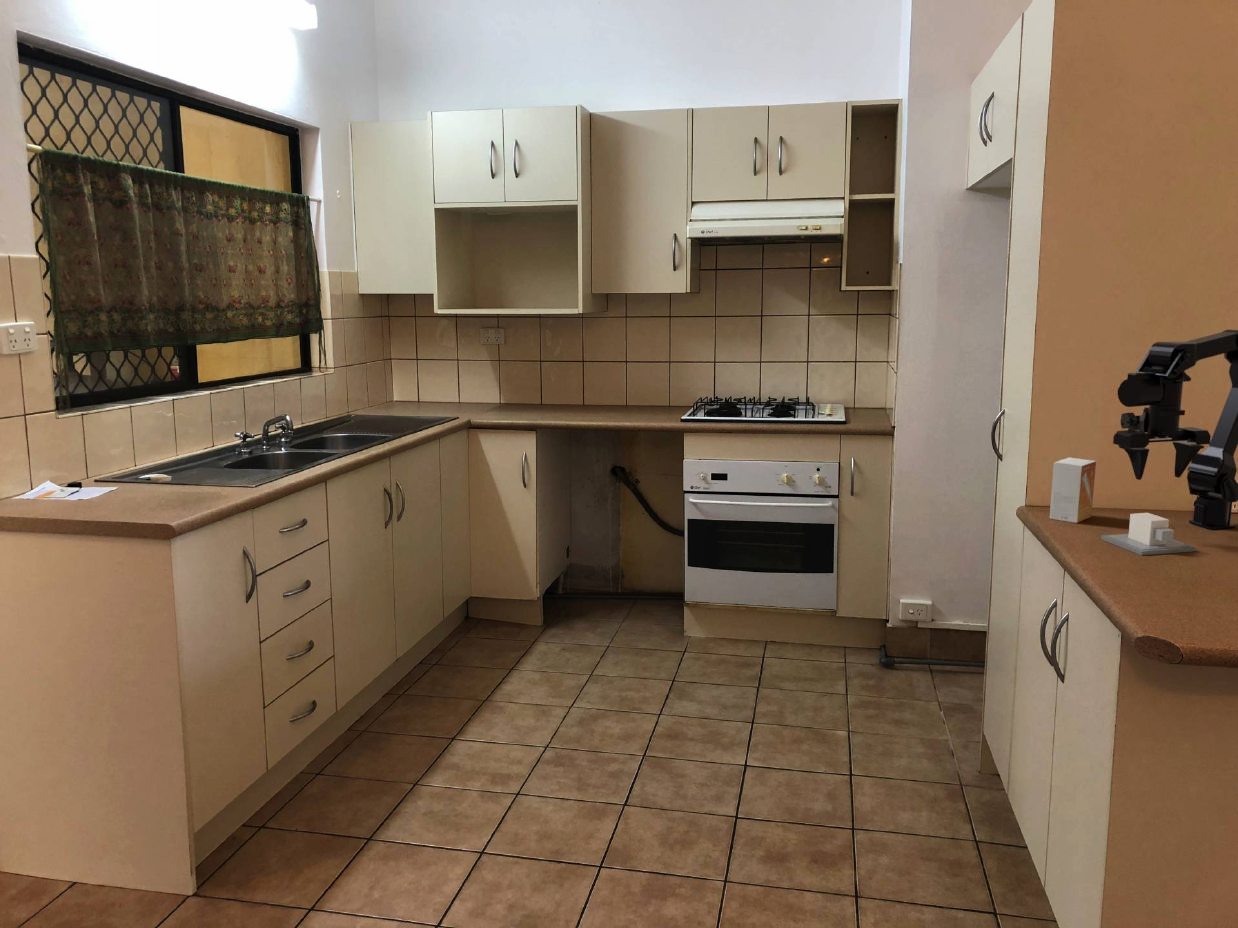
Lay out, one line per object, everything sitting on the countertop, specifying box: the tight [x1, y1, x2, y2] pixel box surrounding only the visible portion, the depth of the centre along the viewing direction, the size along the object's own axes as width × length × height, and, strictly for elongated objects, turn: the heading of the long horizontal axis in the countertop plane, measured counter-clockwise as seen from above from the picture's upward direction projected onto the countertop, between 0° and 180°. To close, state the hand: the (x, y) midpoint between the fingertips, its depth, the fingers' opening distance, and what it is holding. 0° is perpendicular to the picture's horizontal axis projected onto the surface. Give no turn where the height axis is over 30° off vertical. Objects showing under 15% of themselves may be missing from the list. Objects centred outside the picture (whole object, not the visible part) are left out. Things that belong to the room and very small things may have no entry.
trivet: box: [1100, 533, 1196, 556], centre depth 200 cm, size 12×12×1 cm
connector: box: [1128, 512, 1175, 545], centre depth 199 cm, size 4×8×5 cm, turn 11°
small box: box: [1049, 456, 1097, 524], centre depth 221 cm, size 8×6×13 cm
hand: (1157, 478), depth 206 cm, fingers open, 9 cm apart
